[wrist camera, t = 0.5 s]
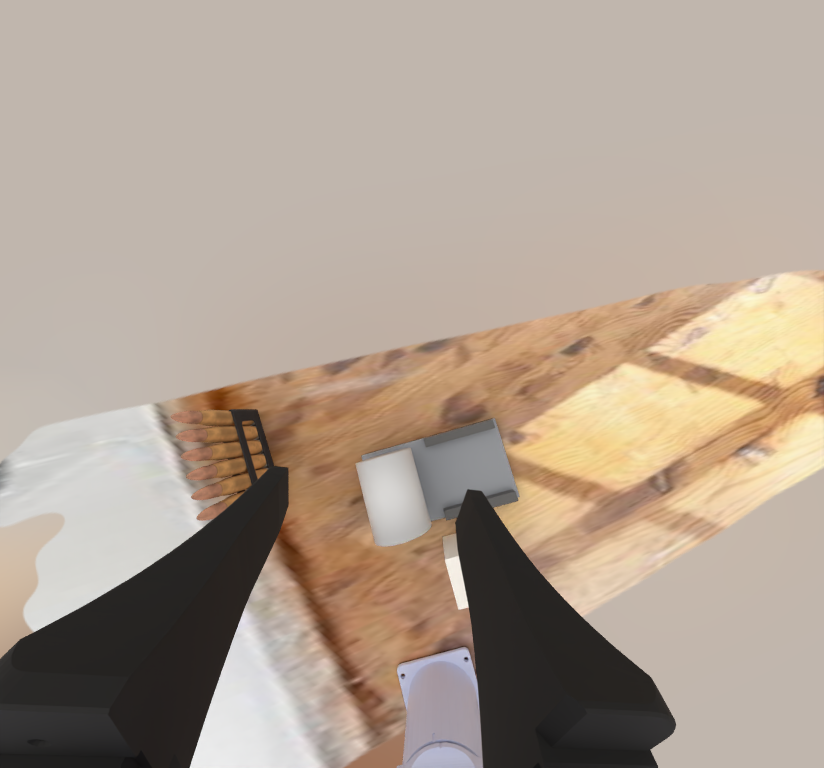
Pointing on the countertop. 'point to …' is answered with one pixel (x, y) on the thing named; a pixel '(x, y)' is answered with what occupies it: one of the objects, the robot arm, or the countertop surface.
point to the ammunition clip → (225, 453)
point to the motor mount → (433, 480)
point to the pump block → (455, 570)
